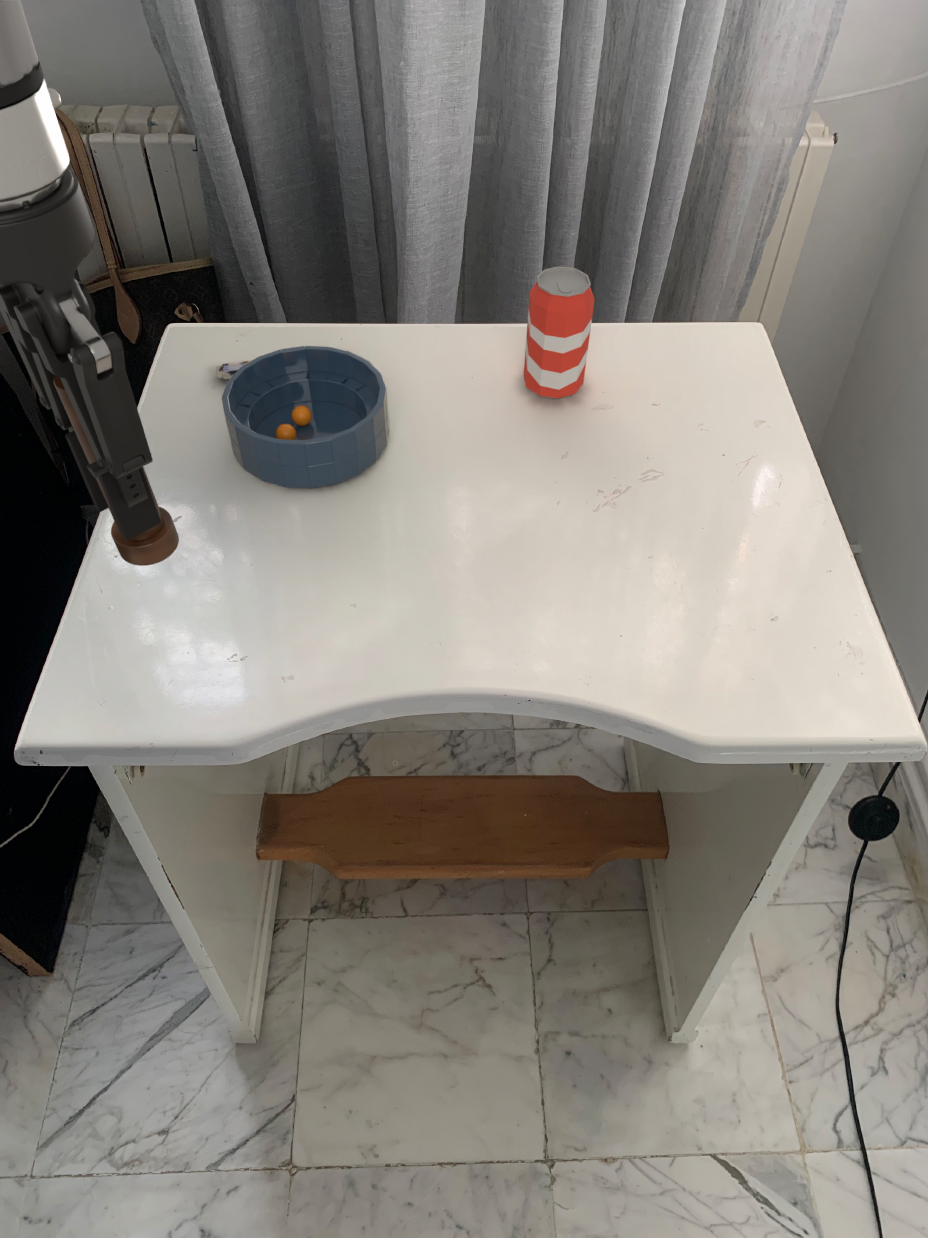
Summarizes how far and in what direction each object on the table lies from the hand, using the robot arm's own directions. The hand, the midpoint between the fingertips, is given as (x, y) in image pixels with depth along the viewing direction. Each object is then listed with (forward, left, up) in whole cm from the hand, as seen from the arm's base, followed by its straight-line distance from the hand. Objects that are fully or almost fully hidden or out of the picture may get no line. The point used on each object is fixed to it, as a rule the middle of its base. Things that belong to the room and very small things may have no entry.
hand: (127, 514), depth 64 cm
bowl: (+8, +24, -12) cm, 28 cm away
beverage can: (+32, +35, -13) cm, 49 cm away
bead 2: (+7, +26, -11) cm, 29 cm away
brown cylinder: (0, 0, -3) cm, 4 cm away
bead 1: (+6, +23, -11) cm, 26 cm away
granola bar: (-1, +35, -13) cm, 37 cm away
